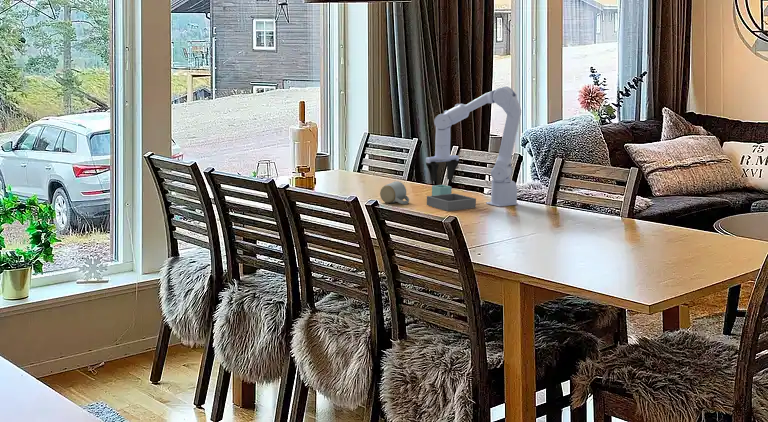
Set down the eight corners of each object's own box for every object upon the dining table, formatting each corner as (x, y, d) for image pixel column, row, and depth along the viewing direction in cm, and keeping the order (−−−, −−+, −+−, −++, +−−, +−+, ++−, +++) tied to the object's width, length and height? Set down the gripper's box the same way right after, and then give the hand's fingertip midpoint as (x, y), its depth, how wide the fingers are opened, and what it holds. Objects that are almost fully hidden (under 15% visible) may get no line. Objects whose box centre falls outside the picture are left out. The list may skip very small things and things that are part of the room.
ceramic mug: (378, 202, 358) (378, 182, 357) (389, 199, 365) (390, 180, 364) (402, 206, 353) (402, 186, 351) (413, 203, 360) (414, 183, 358)
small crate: (442, 198, 369) (443, 184, 368) (451, 200, 364) (451, 186, 363) (431, 199, 366) (432, 185, 365) (440, 202, 361) (440, 187, 360)
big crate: (454, 202, 361) (454, 193, 360) (475, 207, 350) (475, 198, 350) (426, 205, 354) (426, 196, 353) (447, 211, 343) (448, 201, 343)
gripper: (451, 143, 368) (450, 177, 371) (421, 145, 360) (420, 180, 363) (462, 145, 362) (461, 180, 365) (432, 147, 354) (431, 182, 357)
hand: (441, 180), depth 364 cm, fingers open, 7 cm apart
